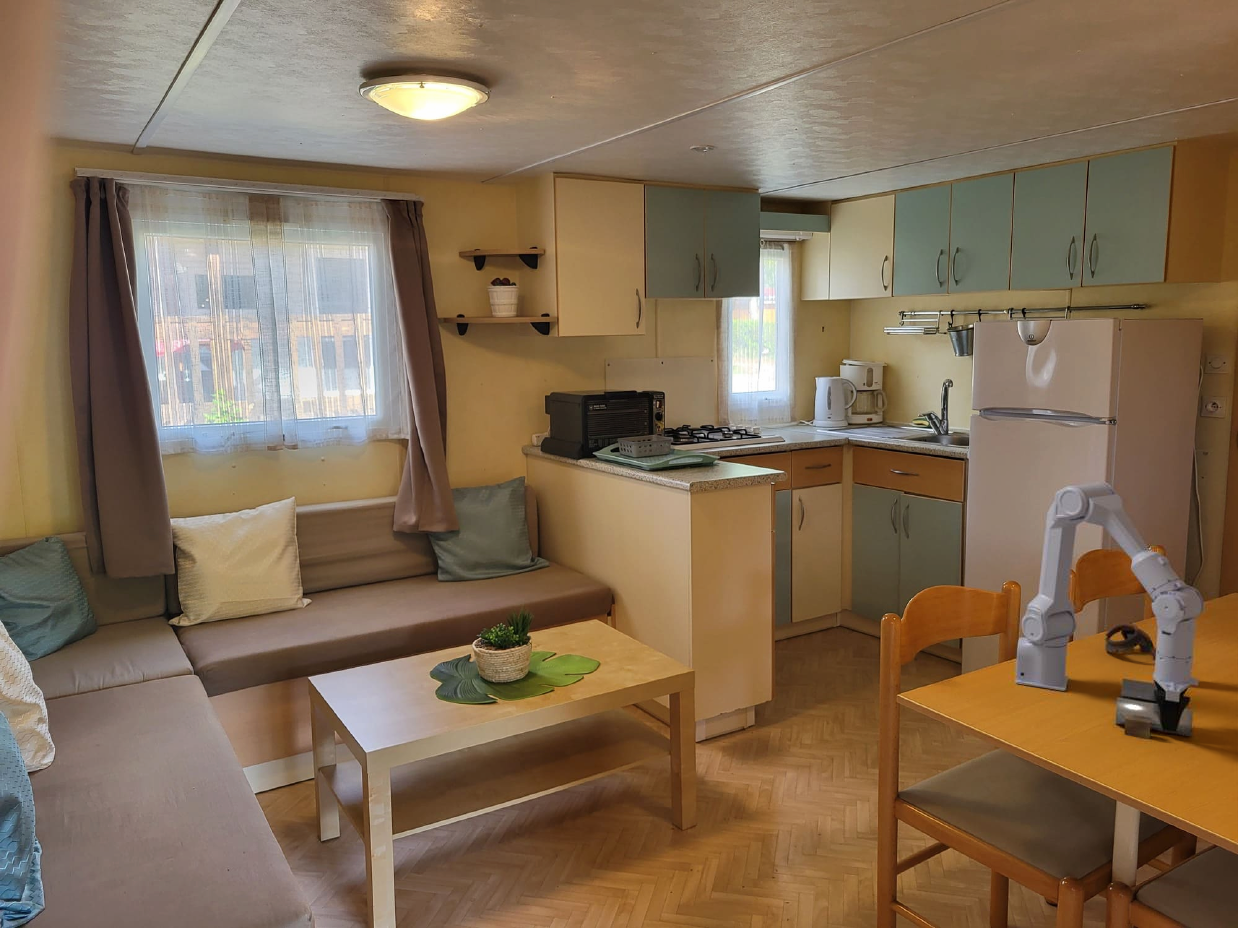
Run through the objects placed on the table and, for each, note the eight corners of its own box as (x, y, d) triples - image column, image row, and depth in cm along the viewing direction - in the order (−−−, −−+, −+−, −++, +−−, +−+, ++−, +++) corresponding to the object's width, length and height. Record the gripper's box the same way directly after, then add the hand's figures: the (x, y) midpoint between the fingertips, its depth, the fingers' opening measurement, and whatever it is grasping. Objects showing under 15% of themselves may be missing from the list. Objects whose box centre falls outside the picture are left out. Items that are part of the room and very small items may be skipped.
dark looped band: (1162, 668, 202) (1146, 637, 200) (1116, 679, 206) (1100, 649, 205) (1155, 637, 212) (1139, 608, 210) (1112, 648, 216) (1096, 620, 215)
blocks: (1124, 734, 170) (1125, 718, 169) (1125, 713, 178) (1126, 699, 178) (1149, 738, 168) (1150, 723, 167) (1149, 717, 176) (1150, 702, 176)
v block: (1120, 709, 180) (1121, 690, 179) (1121, 695, 187) (1122, 677, 186) (1168, 717, 176) (1169, 698, 175) (1167, 702, 183) (1169, 684, 182)
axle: (1115, 727, 173) (1116, 703, 172) (1116, 717, 177) (1117, 693, 176) (1190, 740, 167) (1192, 715, 166) (1190, 729, 171) (1192, 705, 170)
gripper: (1201, 670, 160) (1195, 744, 162) (1198, 644, 172) (1193, 713, 174) (1154, 663, 163) (1149, 736, 165) (1155, 638, 176) (1150, 706, 178)
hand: (1168, 724), depth 170 cm, fingers closed on axle, 5 cm apart
